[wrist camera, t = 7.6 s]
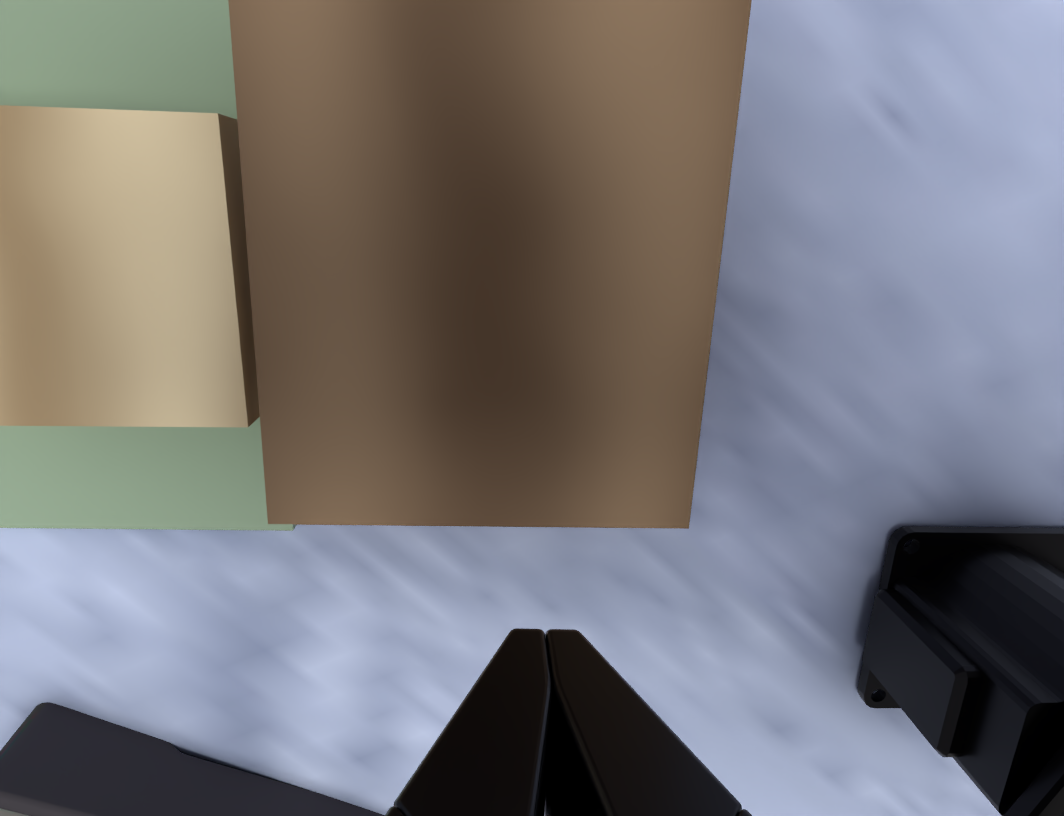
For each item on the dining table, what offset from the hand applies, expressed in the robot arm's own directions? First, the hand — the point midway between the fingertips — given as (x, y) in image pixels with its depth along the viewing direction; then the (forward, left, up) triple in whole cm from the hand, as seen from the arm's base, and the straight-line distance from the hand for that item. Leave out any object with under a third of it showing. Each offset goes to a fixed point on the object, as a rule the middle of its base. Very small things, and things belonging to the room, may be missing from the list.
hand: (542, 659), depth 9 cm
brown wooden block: (+1, -4, -12) cm, 12 cm away
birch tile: (+11, -4, -11) cm, 16 cm away
